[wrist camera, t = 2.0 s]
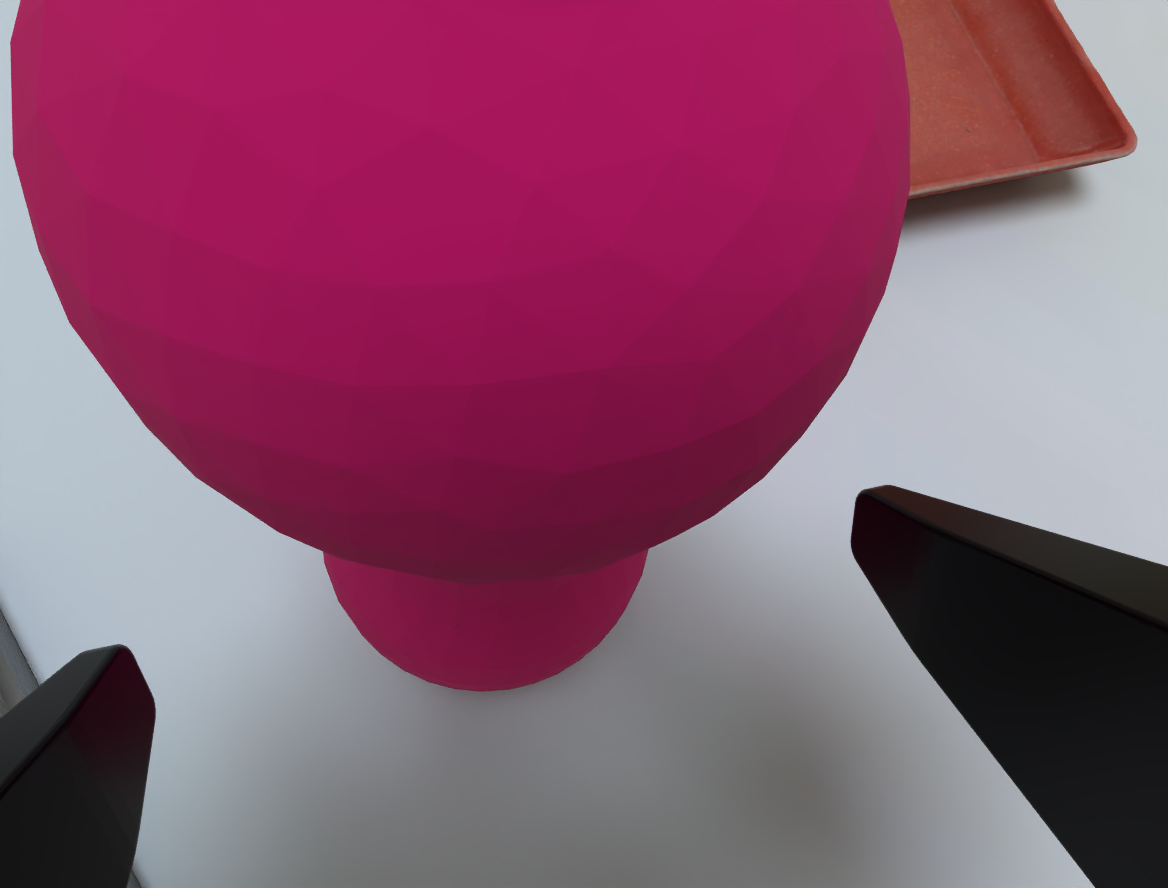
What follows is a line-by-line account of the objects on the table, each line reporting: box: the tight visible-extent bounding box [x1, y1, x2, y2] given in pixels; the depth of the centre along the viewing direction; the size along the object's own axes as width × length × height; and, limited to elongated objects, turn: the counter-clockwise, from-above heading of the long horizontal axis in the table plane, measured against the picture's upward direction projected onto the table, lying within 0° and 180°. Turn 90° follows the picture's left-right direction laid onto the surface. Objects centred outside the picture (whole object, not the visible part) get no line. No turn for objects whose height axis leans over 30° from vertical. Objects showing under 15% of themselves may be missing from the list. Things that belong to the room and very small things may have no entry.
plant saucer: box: [889, 0, 1137, 199], centre depth 27 cm, size 18×18×3 cm
